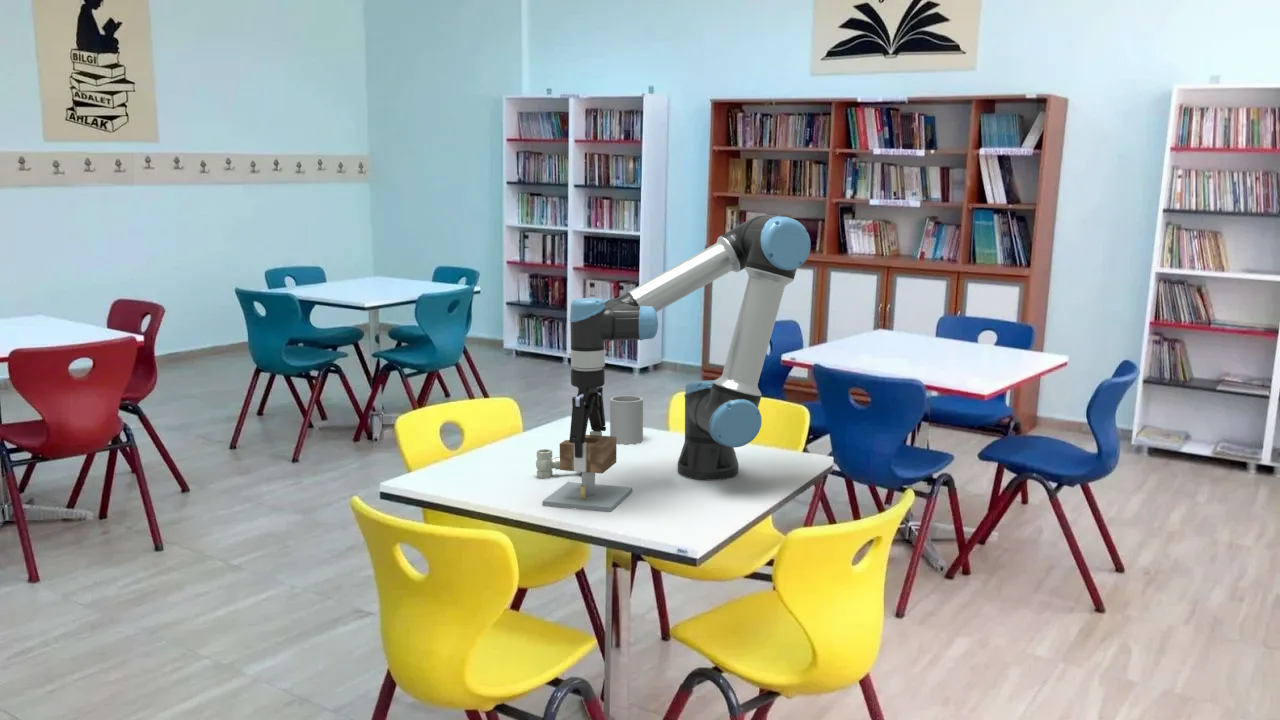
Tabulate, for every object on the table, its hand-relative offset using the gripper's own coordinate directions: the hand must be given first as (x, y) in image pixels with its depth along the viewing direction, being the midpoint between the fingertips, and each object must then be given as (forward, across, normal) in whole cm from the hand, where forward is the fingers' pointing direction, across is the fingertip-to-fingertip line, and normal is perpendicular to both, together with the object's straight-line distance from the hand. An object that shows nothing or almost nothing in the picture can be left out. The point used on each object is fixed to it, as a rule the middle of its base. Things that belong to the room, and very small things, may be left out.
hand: (588, 465), depth 233 cm
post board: (+8, 0, 0) cm, 8 cm away
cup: (+8, -54, -8) cm, 56 cm away
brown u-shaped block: (0, 0, 0) cm, 0 cm away
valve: (+8, -16, -13) cm, 22 cm away
